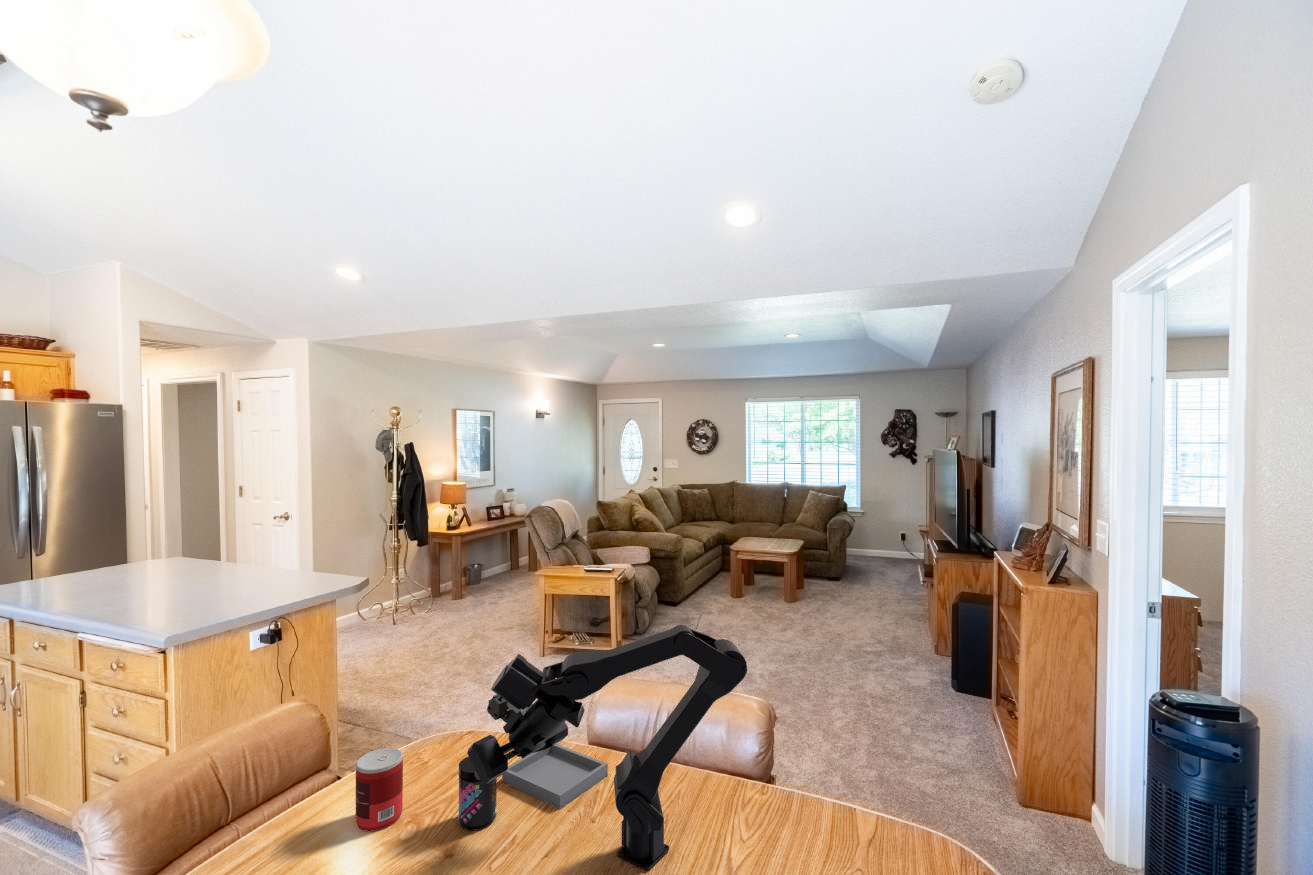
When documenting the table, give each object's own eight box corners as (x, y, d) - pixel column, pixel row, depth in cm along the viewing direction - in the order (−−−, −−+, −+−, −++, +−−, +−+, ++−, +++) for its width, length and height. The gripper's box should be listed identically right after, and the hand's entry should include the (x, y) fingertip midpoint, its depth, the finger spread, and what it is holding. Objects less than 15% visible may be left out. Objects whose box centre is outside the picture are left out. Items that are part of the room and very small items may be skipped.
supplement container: (456, 813, 113) (456, 757, 113) (493, 805, 116) (494, 750, 116) (459, 835, 107) (460, 775, 107) (499, 826, 109) (499, 767, 110)
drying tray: (607, 775, 126) (607, 763, 126) (560, 809, 115) (560, 795, 115) (551, 753, 135) (551, 741, 135) (502, 781, 124) (502, 769, 124)
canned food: (410, 806, 115) (410, 748, 115) (387, 833, 107) (388, 770, 107) (371, 804, 116) (372, 746, 116) (346, 831, 108) (346, 768, 108)
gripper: (557, 660, 113) (515, 706, 119) (475, 695, 98) (432, 744, 104) (589, 714, 108) (544, 758, 115) (509, 759, 93) (461, 807, 99)
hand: (497, 764), depth 108 cm, fingers open, 9 cm apart
